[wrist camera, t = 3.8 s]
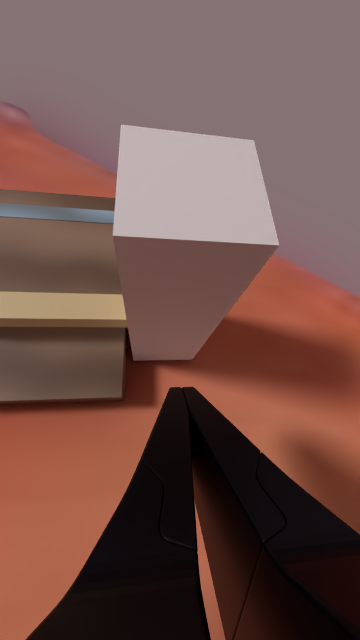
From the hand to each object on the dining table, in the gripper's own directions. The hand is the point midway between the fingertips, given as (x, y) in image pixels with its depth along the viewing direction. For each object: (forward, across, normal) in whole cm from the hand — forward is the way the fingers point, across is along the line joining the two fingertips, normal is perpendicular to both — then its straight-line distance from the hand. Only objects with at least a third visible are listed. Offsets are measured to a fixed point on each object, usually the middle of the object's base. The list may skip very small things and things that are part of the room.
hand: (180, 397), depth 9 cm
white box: (+9, +5, +2) cm, 10 cm away
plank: (+11, +8, 0) cm, 13 cm away
